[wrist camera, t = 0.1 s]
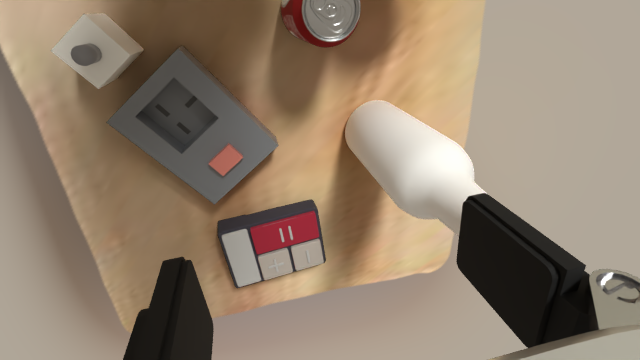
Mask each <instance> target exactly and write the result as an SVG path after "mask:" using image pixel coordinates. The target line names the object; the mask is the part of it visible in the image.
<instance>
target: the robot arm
mask: <svg viewBox="0 0 640 360" xmlns="http://www.w3.org/2000/svg"><path fill="white" fill-rule="evenodd" d="M457 265H458V268H459V269H460V271H461V272H462V273H463V274H464V275H465V277H466V278H467V279H468V280H469V281H470V282H471V284H472V285H473V286H474V287H475V288H476V289H477V291H478V292H479V293H480V294H481V295H482V296H483V297H484V299H485V300H486V301H487V302H488V303H489V304H490V306H491V307H492V308H493V309H494V310H495V311H496V313H497V314H498V315H499V316H500V317H501V318H502V319H503V321H504V322H505V323H506V324H507V325H508V326H509V327H510V329H511V330H512V331H513V332H514V333H515V334H516V336H517V337H518V338H519V339H520V340H521V341H522V343H523V344H524V345H525V346H526V347H528V348H527V349H524V350H520V351H517V352H513V353H510V354H506V355H503V356H499V357H495V358H492V359H489V360H640V279H639V278H638V277H635V276H633V275H631V274H629V273H626V272H622V271H618V270H612V269H599V270H596V271H593V272H592V274H591V275H589V274H588V273H586V272H585V271H584V270H585V266H586V265H585V264H583V263H582V262H580V261H579V260H578V259H576V258H575V257H573V256H572V255H571V254H569V253H568V252H567V251H565V250H564V249H562V248H561V247H560V246H558V245H557V244H555V243H554V242H553V241H551V240H550V239H549V238H547V237H546V236H544V235H543V234H542V233H540V232H539V231H538V230H536V229H535V228H534V227H532V226H531V225H529V224H528V223H527V222H525V221H524V220H522V219H521V218H520V217H518V216H517V215H516V214H514V213H513V212H511V211H510V210H509V209H507V208H506V207H505V206H503V205H502V204H500V203H499V202H498V201H496V200H495V199H493V198H492V197H491V196H489V195H488V194H486V193H481V194H476V195H472V196H469V197H467V199H466V201H464V202H463V205H462V214H461V223H460V233H459V243H458V252H457ZM212 343H213V322H212V318H211V315H210V312H209V309H208V307H207V304H206V301H205V298H204V295H203V292H202V289H201V287H200V284H199V281H198V278H197V275H196V272H195V269H194V267H193V264H192V261H191V260H187V261H185V259H184V257H179V258H174V259H169V260H165V261H163V263H162V266H161V269H160V273H159V276H158V279H157V283H156V286H155V289H154V293H153V296H152V300H151V303H150V306H149V308H147V309H143V310H141V311H140V312H139V314H138V316H137V318H136V321H135V324H134V328H133V331H132V334H131V337H130V340H129V343H128V346H127V349H126V352H125V355H124V358H123V360H211V355H212Z"/></svg>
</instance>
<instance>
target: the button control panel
mask: <svg viewBox="0 0 640 360" xmlns="http://www.w3.org/2000/svg"><path fill="white" fill-rule="evenodd" d="M218 238H219V241H220V243H221V246H222V249H223V252H224V255H225V258H226V261H227V264H228V267H229V270H230V273H231V276H232V279H233V282H234V285H235V287H236V288H240V287H244V286H247V285H251V284H254V283H257V282H261V281H264V280H268V279H272V278H275V277H278V276H282V275H285V274H288V273H291V272H295V271H299V270H302V269H305V268H309V267H312V266H315V265H319V264H322V263H324V262H325V261H326V258H325V252H324V246H323V240H322V234H321V228H320V222H319V216H318V210H317V207H316V205H315V203H314V201H313V200H306V201H302V202H298V203H293V204H289V205H285V206H281V207H276V208H273V209H269V210H265V211H261V212H257V213H253V214H249V215H242V216H237V217H233V218H229V219H224V220H220V221H218Z"/></svg>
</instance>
